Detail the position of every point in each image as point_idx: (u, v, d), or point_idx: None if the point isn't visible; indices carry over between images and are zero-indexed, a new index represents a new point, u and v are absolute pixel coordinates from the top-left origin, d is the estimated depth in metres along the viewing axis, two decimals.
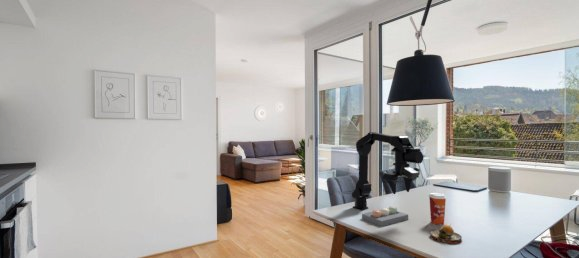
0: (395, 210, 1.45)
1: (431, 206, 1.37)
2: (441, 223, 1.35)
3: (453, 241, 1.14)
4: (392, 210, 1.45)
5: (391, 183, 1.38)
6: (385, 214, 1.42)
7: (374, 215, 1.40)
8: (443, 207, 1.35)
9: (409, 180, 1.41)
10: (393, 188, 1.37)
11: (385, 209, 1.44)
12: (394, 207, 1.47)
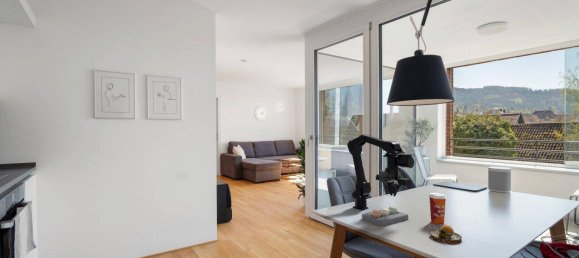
0: (395, 210, 1.45)
1: (431, 206, 1.37)
2: (441, 223, 1.35)
3: (453, 241, 1.14)
4: (392, 210, 1.45)
5: None
6: (385, 214, 1.42)
7: (374, 215, 1.40)
8: (443, 207, 1.35)
9: None
10: None
11: (385, 209, 1.44)
12: (394, 207, 1.47)
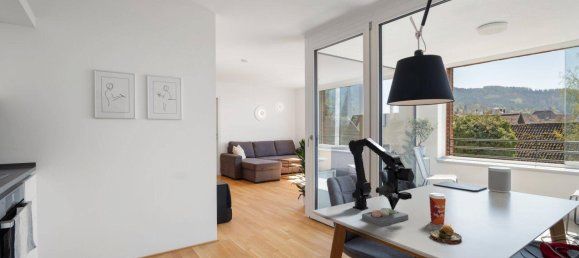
0: (395, 212, 1.45)
1: (431, 206, 1.37)
2: (441, 223, 1.35)
3: (453, 241, 1.14)
4: (392, 212, 1.45)
5: None
6: (385, 214, 1.42)
7: (374, 215, 1.40)
8: (443, 207, 1.35)
9: None
10: None
11: (385, 209, 1.44)
12: (394, 209, 1.47)
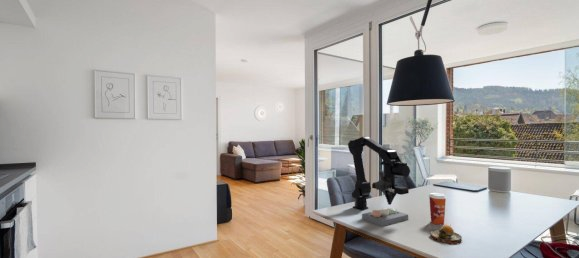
0: (395, 212, 1.45)
1: (431, 206, 1.37)
2: (441, 223, 1.35)
3: (453, 241, 1.14)
4: (392, 212, 1.45)
5: None
6: (385, 214, 1.42)
7: (374, 215, 1.40)
8: (443, 207, 1.35)
9: None
10: None
11: (385, 209, 1.44)
12: (394, 209, 1.47)
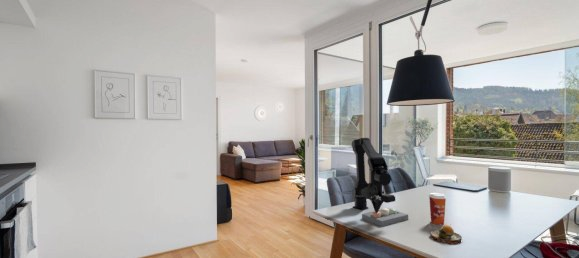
0: (395, 212, 1.45)
1: (431, 206, 1.37)
2: (441, 223, 1.35)
3: (453, 241, 1.14)
4: (392, 212, 1.45)
5: None
6: (385, 214, 1.42)
7: (374, 216, 1.40)
8: (443, 207, 1.35)
9: None
10: None
11: (385, 209, 1.44)
12: (394, 209, 1.47)
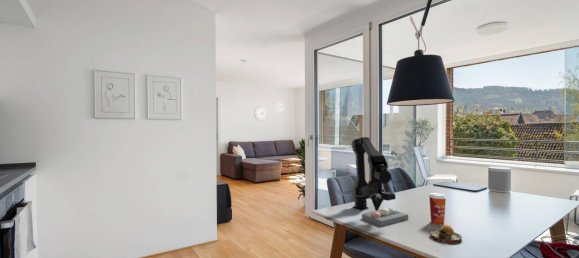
0: (395, 212, 1.45)
1: (431, 206, 1.37)
2: (441, 223, 1.35)
3: (453, 241, 1.14)
4: (392, 212, 1.45)
5: None
6: (385, 214, 1.42)
7: (374, 217, 1.40)
8: (443, 207, 1.35)
9: None
10: None
11: (385, 209, 1.44)
12: (394, 209, 1.47)
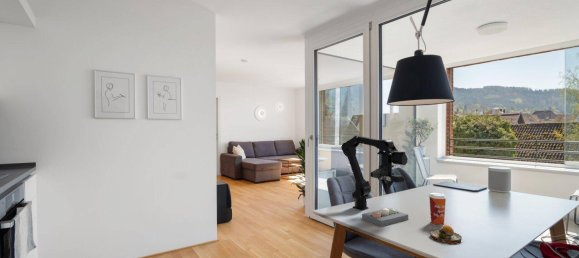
0: (395, 212, 1.45)
1: (431, 206, 1.37)
2: (441, 223, 1.35)
3: (453, 241, 1.14)
4: (392, 212, 1.45)
5: None
6: (385, 214, 1.42)
7: (374, 217, 1.40)
8: (443, 207, 1.35)
9: None
10: None
11: (385, 209, 1.44)
12: (394, 209, 1.47)
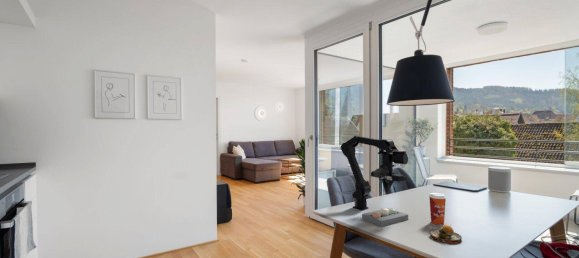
0: (395, 212, 1.45)
1: (431, 206, 1.37)
2: (441, 223, 1.35)
3: (453, 241, 1.14)
4: (392, 212, 1.45)
5: None
6: (385, 214, 1.42)
7: (374, 217, 1.40)
8: (443, 207, 1.35)
9: None
10: None
11: (385, 209, 1.44)
12: (394, 209, 1.47)
